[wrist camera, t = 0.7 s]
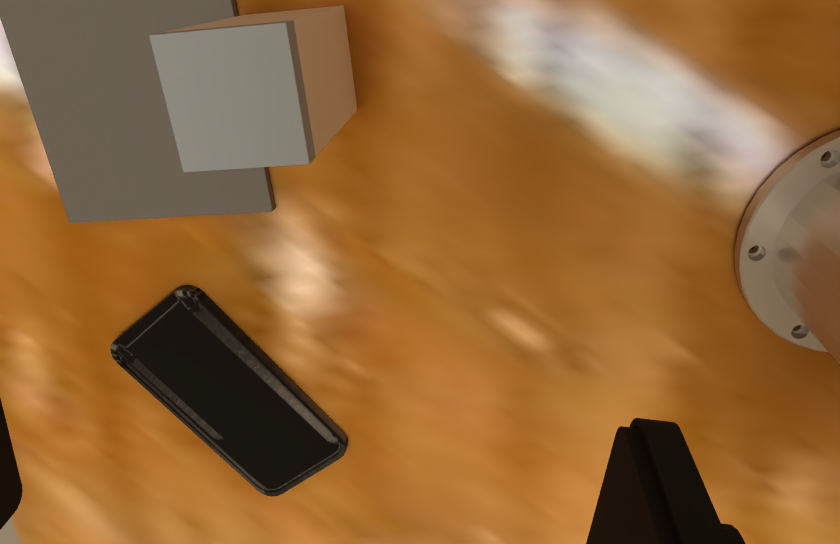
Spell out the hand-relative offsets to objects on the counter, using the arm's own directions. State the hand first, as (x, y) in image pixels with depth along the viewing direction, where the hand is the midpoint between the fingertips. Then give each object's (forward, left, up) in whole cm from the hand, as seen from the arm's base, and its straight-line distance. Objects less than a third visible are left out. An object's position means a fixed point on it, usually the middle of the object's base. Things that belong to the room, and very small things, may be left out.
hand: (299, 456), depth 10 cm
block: (+6, -3, -26) cm, 27 cm away
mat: (+15, -3, -26) cm, 30 cm away
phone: (+14, +17, -27) cm, 35 cm away
